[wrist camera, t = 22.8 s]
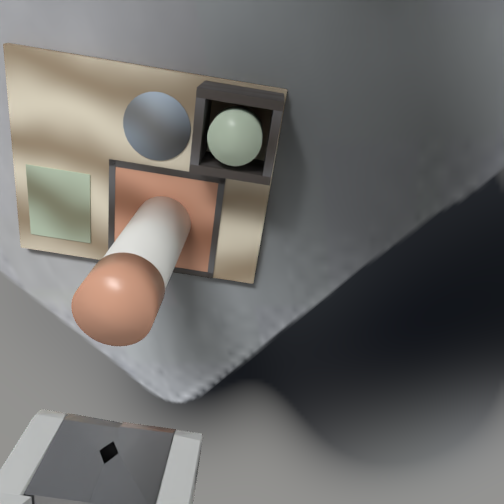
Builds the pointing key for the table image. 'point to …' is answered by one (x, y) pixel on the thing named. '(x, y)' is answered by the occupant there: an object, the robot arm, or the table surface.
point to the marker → (133, 275)
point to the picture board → (134, 156)
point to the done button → (235, 136)
